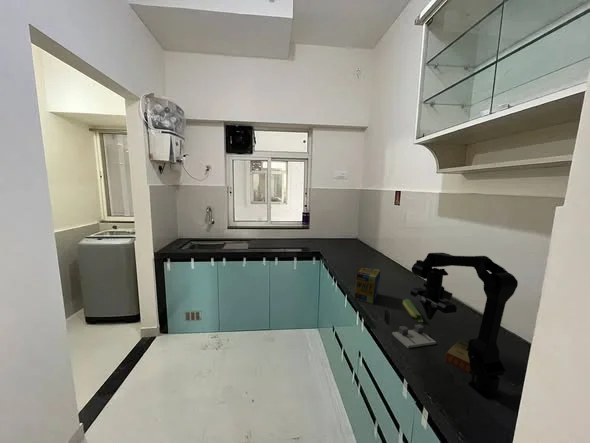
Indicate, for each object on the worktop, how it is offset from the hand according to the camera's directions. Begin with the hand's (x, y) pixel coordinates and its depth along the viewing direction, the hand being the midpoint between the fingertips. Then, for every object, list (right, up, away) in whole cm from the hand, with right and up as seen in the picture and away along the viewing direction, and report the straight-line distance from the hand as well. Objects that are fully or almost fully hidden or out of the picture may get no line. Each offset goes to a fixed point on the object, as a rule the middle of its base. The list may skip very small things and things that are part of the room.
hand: (429, 319), depth 111 cm
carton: (+10, -13, -6) cm, 18 cm away
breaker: (-1, -8, +9) cm, 12 cm away
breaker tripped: (-8, -8, +7) cm, 13 cm away
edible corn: (+4, -8, +28) cm, 29 cm away
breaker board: (-5, -10, +5) cm, 12 cm away
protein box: (-14, -4, +45) cm, 48 cm away
